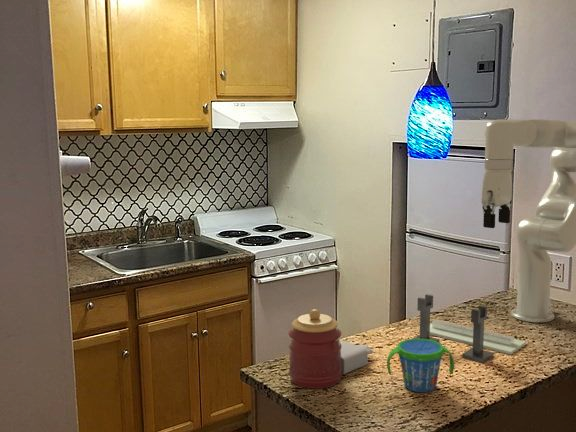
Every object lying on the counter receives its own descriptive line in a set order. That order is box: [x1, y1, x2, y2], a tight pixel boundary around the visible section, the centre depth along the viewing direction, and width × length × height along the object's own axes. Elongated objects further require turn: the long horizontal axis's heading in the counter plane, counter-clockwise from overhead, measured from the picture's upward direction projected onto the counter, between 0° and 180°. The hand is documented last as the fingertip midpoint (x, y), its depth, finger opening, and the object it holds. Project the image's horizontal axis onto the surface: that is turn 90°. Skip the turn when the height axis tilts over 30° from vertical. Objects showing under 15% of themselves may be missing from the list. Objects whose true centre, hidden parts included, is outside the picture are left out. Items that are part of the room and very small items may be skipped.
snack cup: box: [386, 338, 455, 393], centre depth 149 cm, size 16×10×10 cm
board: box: [418, 322, 527, 355], centre depth 181 cm, size 10×28×1 cm, turn 47°
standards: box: [412, 294, 495, 364], centre depth 172 cm, size 6×22×14 cm, turn 48°
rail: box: [431, 318, 515, 346], centre depth 181 cm, size 2×24×2 cm, turn 48°
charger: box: [340, 340, 374, 376], centre depth 165 cm, size 5×9×15 cm
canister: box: [288, 308, 343, 389], centre depth 154 cm, size 13×13×18 cm
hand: (496, 225), depth 180 cm, fingers open, 9 cm apart
